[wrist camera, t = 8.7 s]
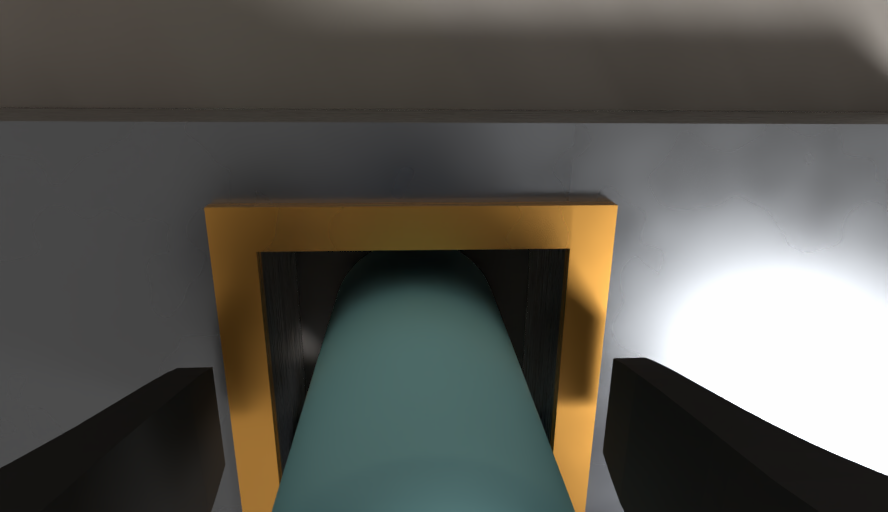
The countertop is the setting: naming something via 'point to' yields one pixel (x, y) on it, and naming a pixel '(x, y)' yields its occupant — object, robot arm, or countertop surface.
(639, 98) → the countertop surface
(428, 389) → the peg
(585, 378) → the grey peg hole board
